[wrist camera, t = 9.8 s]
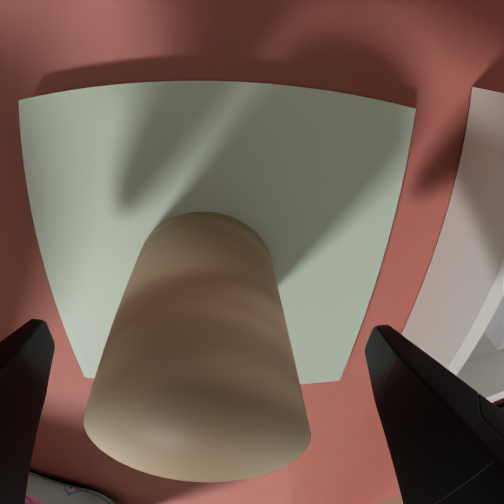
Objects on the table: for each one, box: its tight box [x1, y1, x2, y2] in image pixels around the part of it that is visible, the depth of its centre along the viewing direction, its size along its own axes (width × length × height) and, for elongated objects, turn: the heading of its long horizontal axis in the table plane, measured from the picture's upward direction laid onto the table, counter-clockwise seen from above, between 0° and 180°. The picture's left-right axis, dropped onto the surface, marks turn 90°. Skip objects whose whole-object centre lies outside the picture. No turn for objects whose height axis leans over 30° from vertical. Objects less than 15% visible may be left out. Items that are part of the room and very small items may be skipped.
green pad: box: [19, 81, 416, 384], centre depth 11 cm, size 12×12×1 cm
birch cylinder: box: [83, 212, 311, 482], centre depth 8 cm, size 4×4×6 cm
